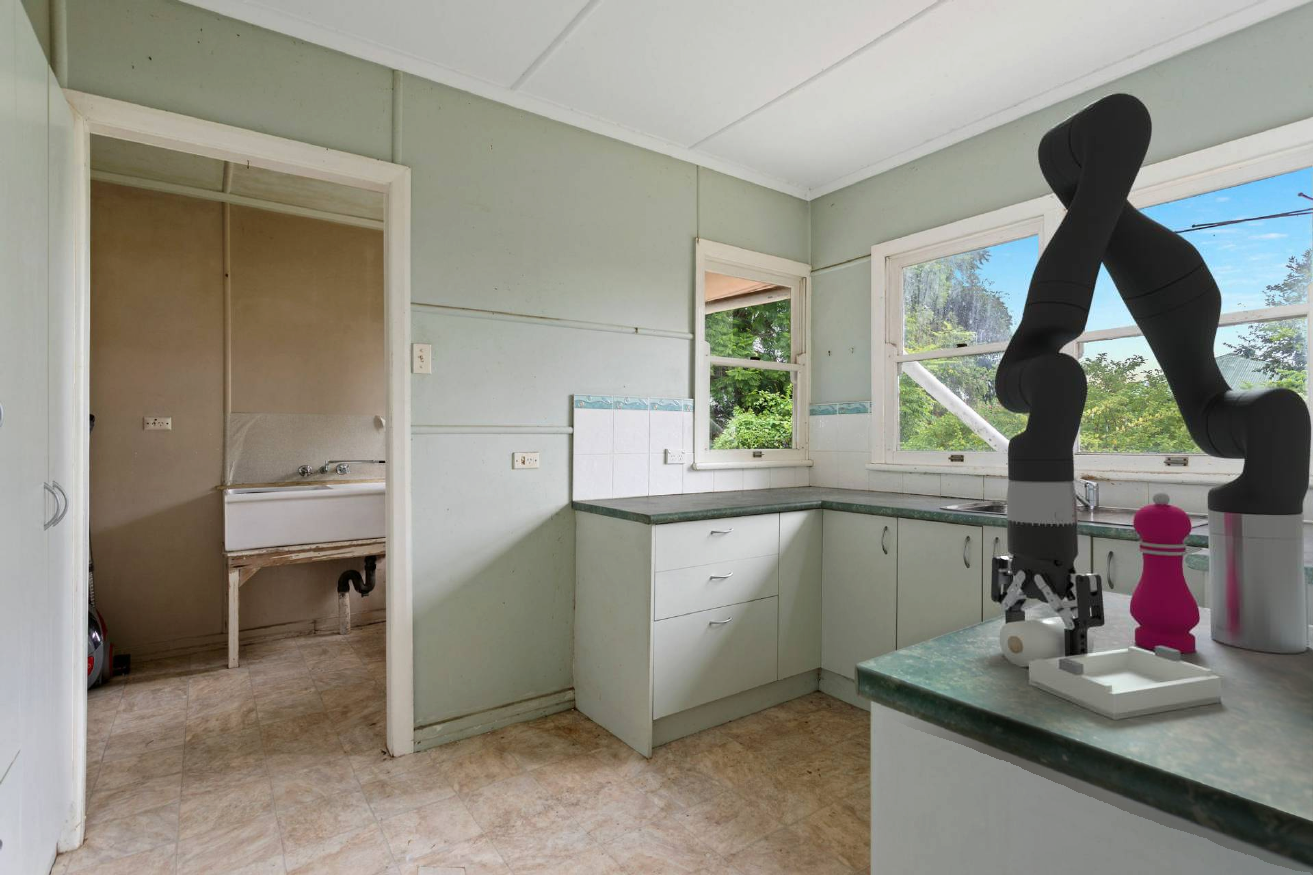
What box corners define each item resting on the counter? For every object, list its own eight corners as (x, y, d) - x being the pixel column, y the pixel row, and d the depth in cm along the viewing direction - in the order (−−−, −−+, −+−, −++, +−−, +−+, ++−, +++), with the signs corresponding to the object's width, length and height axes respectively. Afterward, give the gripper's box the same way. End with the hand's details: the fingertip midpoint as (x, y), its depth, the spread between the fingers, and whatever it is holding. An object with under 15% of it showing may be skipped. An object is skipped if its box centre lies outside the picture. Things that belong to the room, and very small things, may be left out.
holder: (1127, 669, 77) (1126, 635, 77) (1221, 701, 67) (1220, 662, 67) (1028, 684, 73) (1027, 648, 73) (1113, 720, 63) (1112, 678, 63)
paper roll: (1058, 650, 84) (1058, 610, 84) (1095, 665, 79) (1096, 622, 79) (997, 658, 82) (997, 617, 81) (1031, 674, 77) (1032, 630, 76)
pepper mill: (1214, 656, 81) (1210, 494, 81) (1148, 653, 83) (1144, 494, 83) (1180, 639, 88) (1176, 490, 88) (1119, 636, 90) (1116, 490, 90)
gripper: (1119, 522, 75) (1123, 664, 75) (1019, 510, 89) (1022, 631, 89) (1067, 525, 73) (1071, 672, 73) (973, 513, 87) (975, 636, 86)
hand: (1044, 649), depth 81 cm, fingers open, 8 cm apart
